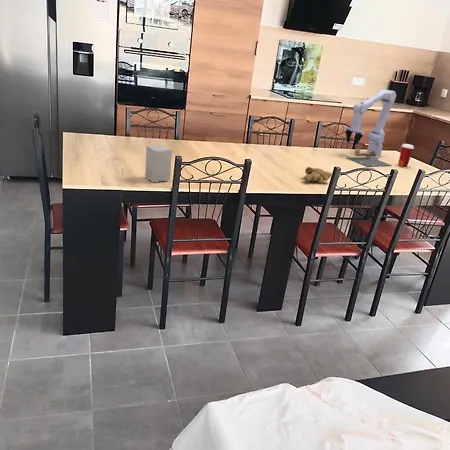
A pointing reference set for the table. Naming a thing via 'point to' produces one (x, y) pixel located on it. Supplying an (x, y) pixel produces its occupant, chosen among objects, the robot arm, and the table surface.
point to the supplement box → (158, 163)
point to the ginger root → (316, 175)
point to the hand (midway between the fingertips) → (351, 143)
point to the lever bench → (369, 161)
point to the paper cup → (405, 155)
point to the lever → (357, 153)
